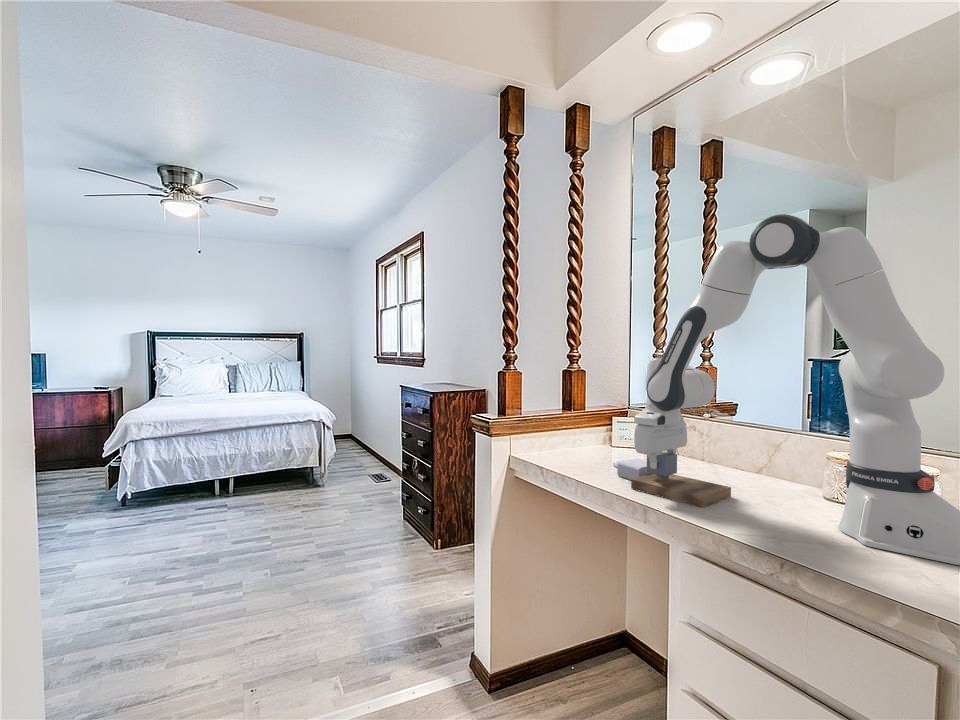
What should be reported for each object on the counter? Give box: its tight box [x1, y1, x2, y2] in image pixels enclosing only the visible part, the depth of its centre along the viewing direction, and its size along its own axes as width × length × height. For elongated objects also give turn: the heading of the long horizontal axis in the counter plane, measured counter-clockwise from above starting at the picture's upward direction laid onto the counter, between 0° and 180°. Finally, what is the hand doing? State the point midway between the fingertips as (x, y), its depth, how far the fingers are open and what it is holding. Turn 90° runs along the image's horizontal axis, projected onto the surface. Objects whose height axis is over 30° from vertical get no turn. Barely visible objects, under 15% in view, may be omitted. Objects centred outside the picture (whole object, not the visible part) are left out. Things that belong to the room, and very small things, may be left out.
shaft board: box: [630, 473, 732, 508], centre depth 127 cm, size 20×14×6 cm
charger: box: [612, 458, 653, 481], centre depth 145 cm, size 5×9×15 cm
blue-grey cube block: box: [646, 451, 678, 476], centre depth 131 cm, size 6×6×5 cm
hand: (661, 466), depth 131 cm, fingers closed on blue-grey cube block, 6 cm apart
